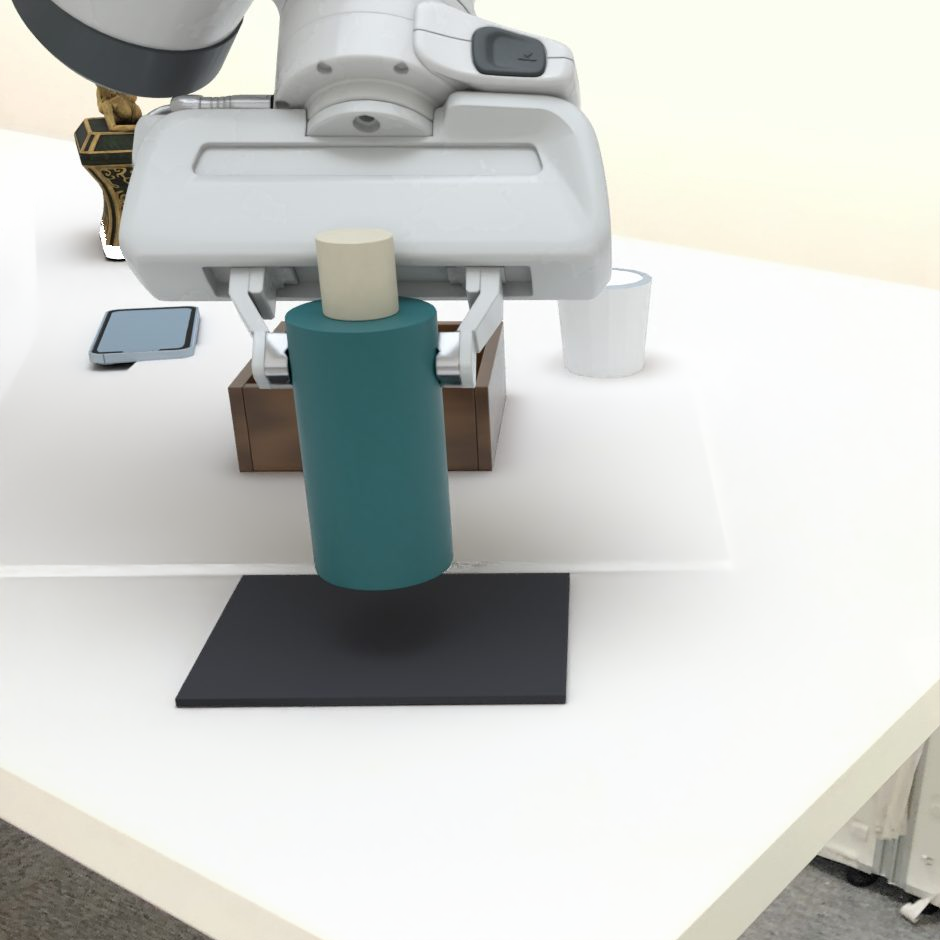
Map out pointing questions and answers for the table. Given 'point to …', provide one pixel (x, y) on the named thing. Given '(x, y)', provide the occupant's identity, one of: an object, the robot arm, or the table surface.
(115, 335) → the smartphone
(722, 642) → the table surface
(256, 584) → the mat
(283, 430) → the wooden box
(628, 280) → the white cup
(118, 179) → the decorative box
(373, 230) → the bottle
